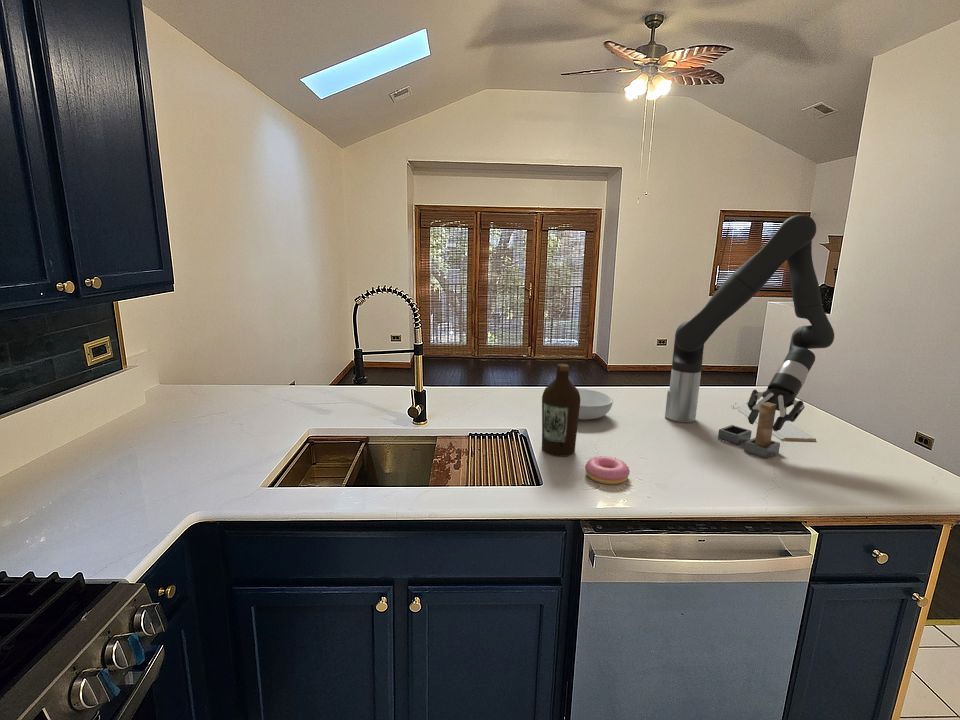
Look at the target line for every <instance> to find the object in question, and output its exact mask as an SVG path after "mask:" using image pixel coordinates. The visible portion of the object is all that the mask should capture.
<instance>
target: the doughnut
mask: <svg viewBox="0 0 960 720" xmlns="http://www.w3.org/2000/svg"><path fill="white" fill-rule="evenodd" d="M584 467H585V468H584V469H585V473H586V475H587V476H588V477H589V479H591V480H593V481H595V482H597V483H600V484H604V485H618V484H622V483H624V482H626V481H627V479H628V477H629V476H630V473H631V471H630V467H629V466H628V465H627V464H626V463H625V462H624V460H621V459H619V458H617V457H612V456H604V455H603V456H602V455H601V456H594V457H591V458H590V459H589V460H587V462H586V464H585V466H584Z"/></svg>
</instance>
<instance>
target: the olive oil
mask: <svg viewBox="0 0 960 720" xmlns="http://www.w3.org/2000/svg"><path fill="white" fill-rule="evenodd" d="M556 365H557V366H556V368H557V369H556V377H555V378H554V379H553V380H552V381H551V382H550V383H549V384H548V385H547V386H546V387H545V388H544V390H543V393H542V395H541V450H542V451H543V452H544V453H545V454H548V455H550V456H554V457H568V456H571V455H573V454H574V453H575V452H576V444H577V433H578V423H579V419H578V417H579V409H580V394H579V391H578V390H577V387H576V386H575V385H574V384H573V382H572V381H571V380H570V378H569V375H570V374H569V373H570V370H569V368H570V365H568V364H566V363H558V364H556Z"/></svg>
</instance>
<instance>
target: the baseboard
mask: <svg viewBox="0 0 960 720" xmlns="http://www.w3.org/2000/svg"><path fill="white" fill-rule="evenodd" d="M734 404H735V405H737V403H736V402H735V403H734ZM734 404H733V405H732V409H735V410H736V409H737V411H738V412H739V413H741V414H742V415H744V416H745V417H746V418H748V416H749V415H750V413H751V410H750V409H749V407H748V405H747V406H745V405H743V406H742V405H738V406H736V407H735V405H734ZM778 417H780V415H778V414H777V413H775V418H774V423H775V422H776V420H777V418H778ZM758 420H759V414H758V417H757V418H756V420H755V422H754V423H755V424H756V425H758ZM773 425H774V424H773ZM772 435H773V436H774V437H776V438H777V439H779V440H780V441H788V442H790V441H792V442H794V441H797V442H816V441H817V438H816V437H814V436H812V435H811V434H809V433H808V432H807V431H805V430H803V429H802V428H799V427H798V426H796V425H795V424H793V423H792V422H791V421H786V422H784V424H783V426H782V428H781V429H780V430H778V431H777V432H776V431H774V430H772Z"/></svg>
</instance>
